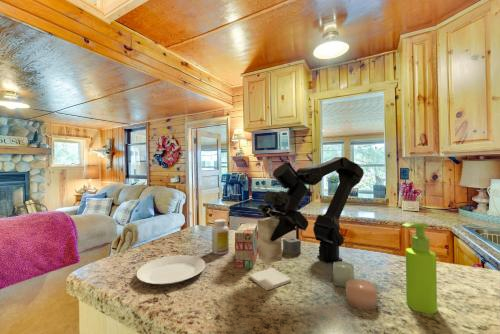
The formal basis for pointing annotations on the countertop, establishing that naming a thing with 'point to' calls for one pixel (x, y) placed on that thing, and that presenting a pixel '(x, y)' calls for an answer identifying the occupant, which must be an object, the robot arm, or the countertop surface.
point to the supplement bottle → (220, 237)
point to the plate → (171, 269)
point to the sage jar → (342, 273)
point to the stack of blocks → (246, 246)
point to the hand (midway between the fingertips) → (265, 238)
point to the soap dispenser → (421, 272)
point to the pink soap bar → (361, 294)
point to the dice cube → (292, 246)
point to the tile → (269, 278)
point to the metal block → (268, 241)
